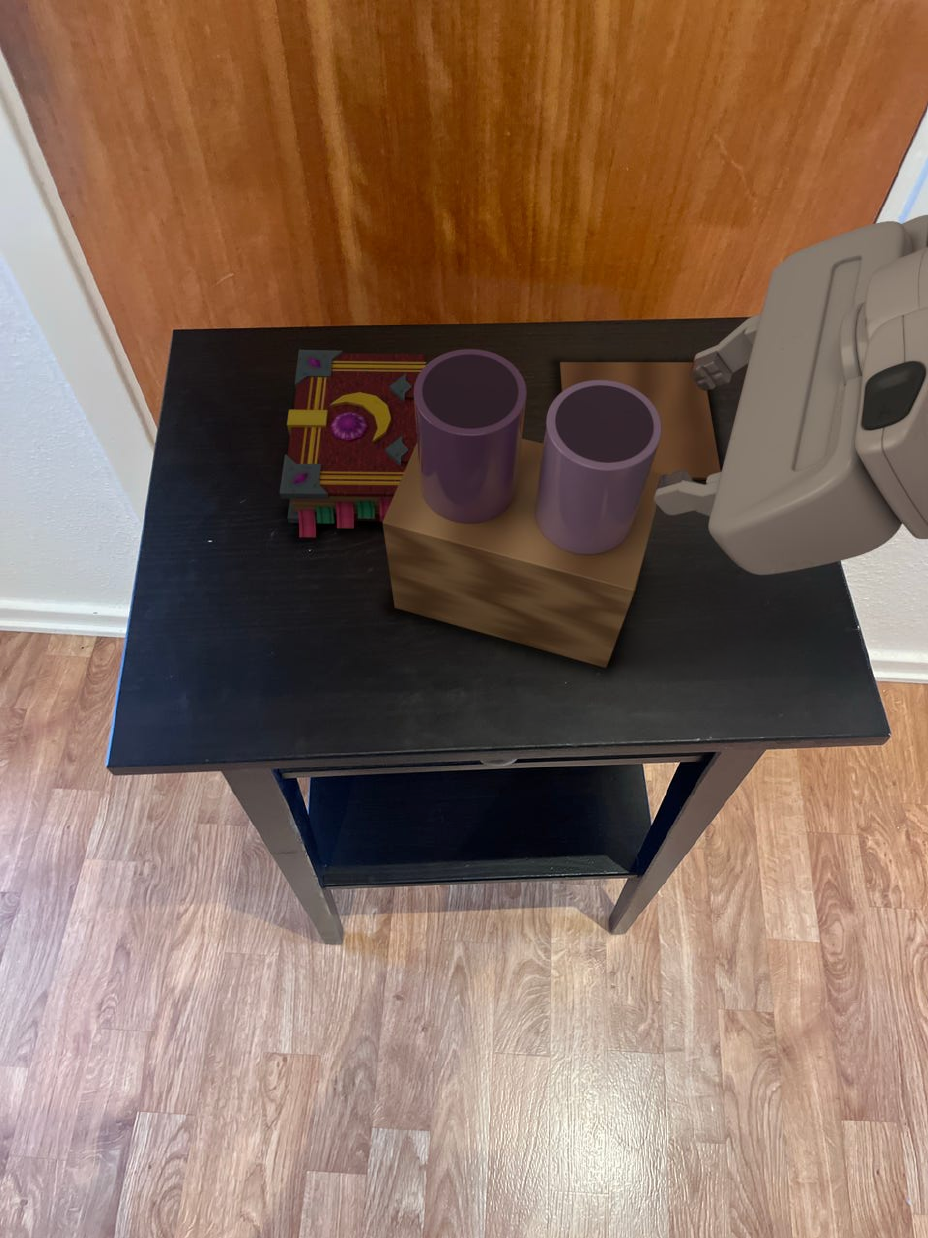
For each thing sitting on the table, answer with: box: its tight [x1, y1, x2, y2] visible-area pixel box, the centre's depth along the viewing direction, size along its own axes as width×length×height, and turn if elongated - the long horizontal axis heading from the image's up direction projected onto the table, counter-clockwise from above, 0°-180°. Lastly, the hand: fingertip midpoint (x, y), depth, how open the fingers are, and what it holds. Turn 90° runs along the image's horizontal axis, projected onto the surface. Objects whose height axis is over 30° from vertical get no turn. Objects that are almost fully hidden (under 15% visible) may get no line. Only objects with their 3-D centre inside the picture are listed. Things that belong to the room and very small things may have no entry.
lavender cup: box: [534, 380, 662, 555], centre depth 53 cm, size 7×7×9 cm
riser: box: [382, 438, 664, 669], centre depth 63 cm, size 17×10×12 cm, turn 72°
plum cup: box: [414, 348, 528, 524], centre depth 54 cm, size 7×7×9 cm
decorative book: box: [279, 349, 428, 538], centre depth 72 cm, size 11×16×5 cm
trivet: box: [559, 361, 722, 481], centre depth 76 cm, size 13×13×1 cm
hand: (680, 432), depth 49 cm, fingers open, 8 cm apart
